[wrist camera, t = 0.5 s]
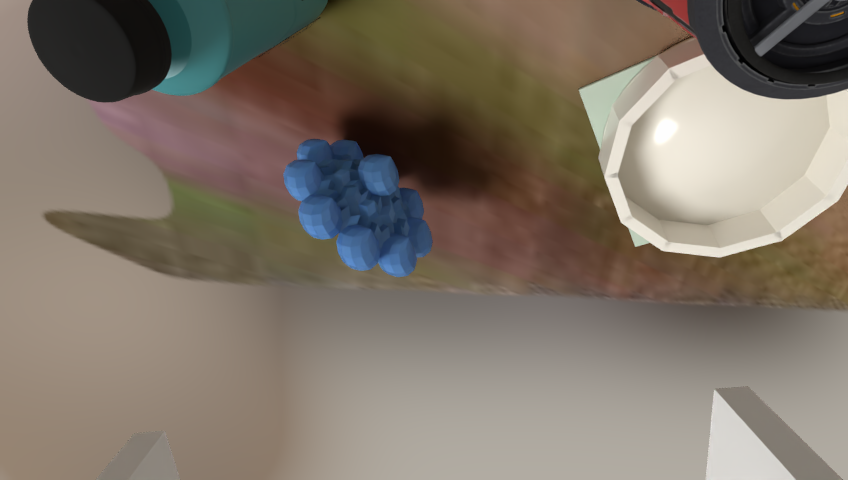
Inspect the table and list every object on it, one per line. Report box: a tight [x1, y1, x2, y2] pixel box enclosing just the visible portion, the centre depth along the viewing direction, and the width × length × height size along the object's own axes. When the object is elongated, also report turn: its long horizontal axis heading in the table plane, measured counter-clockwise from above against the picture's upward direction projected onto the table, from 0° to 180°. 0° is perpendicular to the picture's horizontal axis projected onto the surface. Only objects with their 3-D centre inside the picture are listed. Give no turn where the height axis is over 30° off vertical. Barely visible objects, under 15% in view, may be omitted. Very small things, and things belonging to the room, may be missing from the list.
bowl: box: [598, 37, 848, 257], centre depth 33 cm, size 15×15×4 cm
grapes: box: [283, 139, 433, 277], centre depth 35 cm, size 12×7×12 cm, turn 58°
